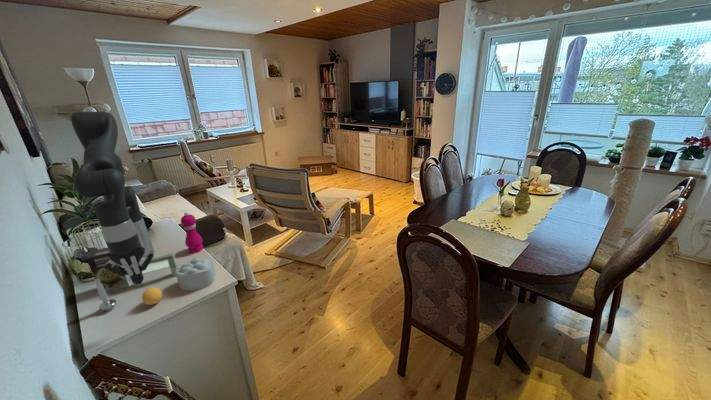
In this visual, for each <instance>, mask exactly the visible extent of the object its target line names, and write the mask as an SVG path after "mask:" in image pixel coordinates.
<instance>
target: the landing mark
mask: <svg viewBox="0 0 711 400" xmlns="http://www.w3.org/2000/svg"><path fill="white" fill-rule="evenodd" d="M173 255H174V258H175V259H176V252H173ZM166 268H170V266H169V263H168V260H164V261H160V262H156V263H152V264H149V265H148V267H147V268H146V270H144V271H142V274H143V275H145V274H147V273H152V272H155V271H159V270H162V269H166Z"/></svg>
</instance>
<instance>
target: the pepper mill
mask: <svg viewBox="0 0 711 400" xmlns="http://www.w3.org/2000/svg"><path fill="white" fill-rule="evenodd" d="M196 220H197V219H196V217H195V216H194V215H193V214H189V212H188V211H185V212H184V215H183V216H182V217H181V218H180V224H181V225H183V229H184V230H185V233H186V237H185V246H186V247H188V248H187V249H188V252H189V253H190V254H196V253H199V252H201V251H203V249H204V245H203V237H202V236H201V234H199V232H198V231H197V229H196V226H197V225H196Z"/></svg>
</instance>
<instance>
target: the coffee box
mask: <svg viewBox="0 0 711 400" xmlns="http://www.w3.org/2000/svg"><path fill="white" fill-rule="evenodd" d="M110 257H111V254H110V251H109V249H108V247H104V248H100V249H94V250H90V252H89V253H88V254H87V256H86V258H85V260H86V261H87V264H88V266H89V268H90V271H91V273H92V275H93V277H94V280H95V279H99V280H100V282H101V284H102V285H103V286H104V289H105V291H106V293H109V292H112V291H116V290H121V289H123V288H128V287H130V285H131V283H132V280H131V278H130V276H129V275H125V276H121V275H119V274H116V273H114V272H112V271H109V270H107V269H105V268H104V266H105V264H106V262H108V261H110V260H111V259H110ZM116 265H118V266H121V265H119V264H117V263H116ZM121 267H123V266H121ZM123 268H124V267H123Z"/></svg>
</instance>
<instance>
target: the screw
mask: <svg viewBox="0 0 711 400" xmlns="http://www.w3.org/2000/svg"><path fill="white" fill-rule="evenodd" d="M93 282H94V283H95V285H96V286H95V287H96V290H97V292H98V295H99V296H100V299H101V302H102V303H101V304H100V305H99V306H98V309H99V310H104V311H105V312H110V311H111V310H113V309H114V308H115V305H116V304H117V300H116V299H113V298H112V299H110V298H109V296H108V294H107V293H108V292H106V291H105V289H104V286H103V285H102V284H101V282H100V280H99V279H95V278H94V280H93Z"/></svg>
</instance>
